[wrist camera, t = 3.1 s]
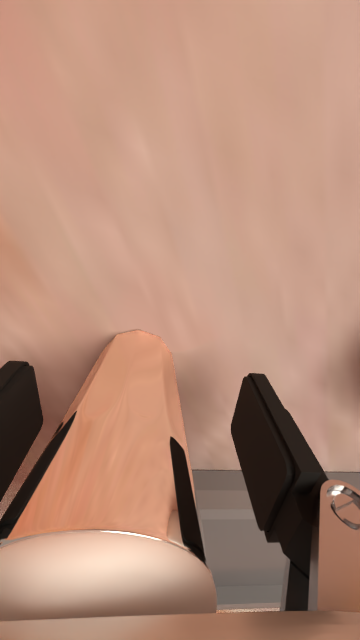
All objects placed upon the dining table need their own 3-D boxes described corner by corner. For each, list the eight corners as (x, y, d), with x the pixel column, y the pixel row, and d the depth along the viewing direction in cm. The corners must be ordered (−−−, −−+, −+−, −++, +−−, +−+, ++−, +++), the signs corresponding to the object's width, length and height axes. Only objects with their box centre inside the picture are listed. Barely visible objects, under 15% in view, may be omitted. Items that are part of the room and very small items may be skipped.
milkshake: (177, 409, 13) (202, 850, 4) (78, 380, 12) (-180, 900, 3) (216, 342, 12) (397, 836, 3) (105, 300, 10) (-289, 940, 1)
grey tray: (432, 473, 17) (467, 509, 15) (351, 569, 23) (369, 604, 21) (172, 469, 15) (173, 509, 13) (158, 573, 21) (157, 612, 19)
